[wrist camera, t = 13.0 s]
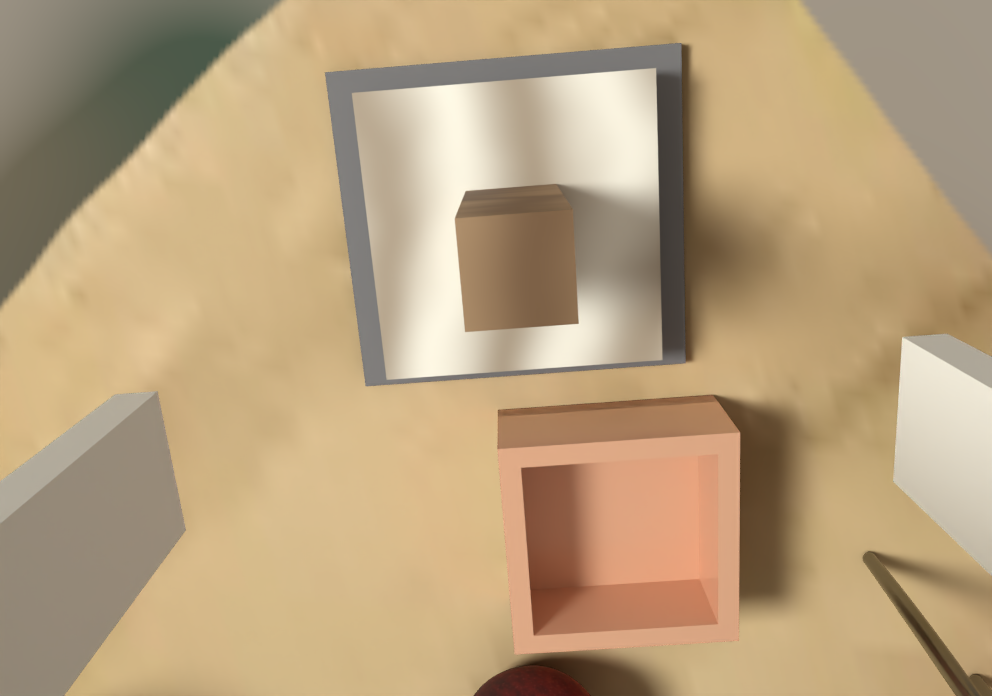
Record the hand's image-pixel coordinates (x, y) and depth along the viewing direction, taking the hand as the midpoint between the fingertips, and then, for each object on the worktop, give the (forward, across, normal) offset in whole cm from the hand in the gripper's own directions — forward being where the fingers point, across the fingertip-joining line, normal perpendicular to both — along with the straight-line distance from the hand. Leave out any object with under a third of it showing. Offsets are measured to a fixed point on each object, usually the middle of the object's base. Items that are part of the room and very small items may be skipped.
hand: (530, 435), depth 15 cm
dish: (+26, +4, -15) cm, 31 cm away
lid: (+26, 0, 0) cm, 26 cm away
